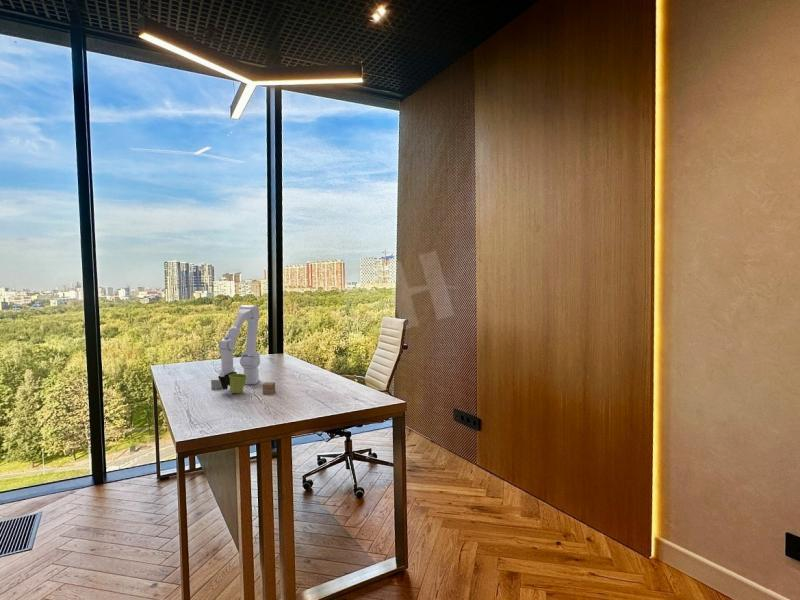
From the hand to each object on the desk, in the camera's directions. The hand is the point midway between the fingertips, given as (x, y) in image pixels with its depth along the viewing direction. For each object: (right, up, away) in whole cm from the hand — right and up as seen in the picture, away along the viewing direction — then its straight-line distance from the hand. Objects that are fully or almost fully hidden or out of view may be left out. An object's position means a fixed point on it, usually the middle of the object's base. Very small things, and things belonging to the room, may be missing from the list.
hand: (227, 387), depth 238 cm
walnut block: (+23, -2, -4) cm, 23 cm away
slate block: (-8, -2, +8) cm, 11 cm away
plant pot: (+6, -2, -3) cm, 7 cm away
